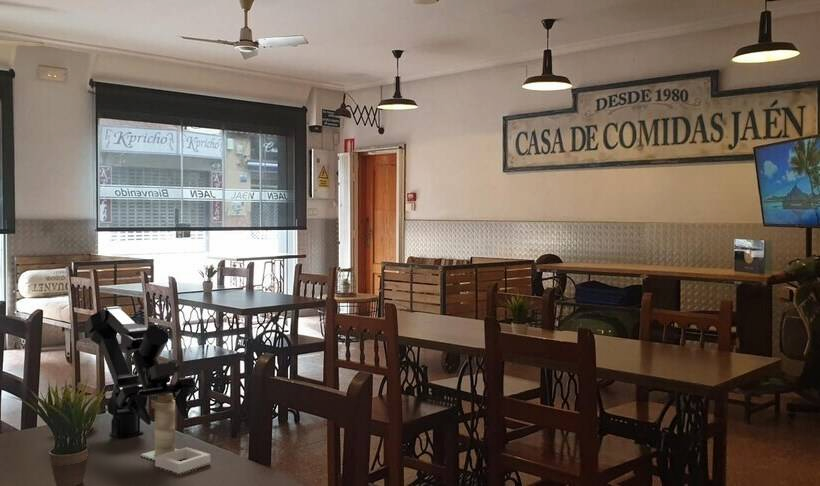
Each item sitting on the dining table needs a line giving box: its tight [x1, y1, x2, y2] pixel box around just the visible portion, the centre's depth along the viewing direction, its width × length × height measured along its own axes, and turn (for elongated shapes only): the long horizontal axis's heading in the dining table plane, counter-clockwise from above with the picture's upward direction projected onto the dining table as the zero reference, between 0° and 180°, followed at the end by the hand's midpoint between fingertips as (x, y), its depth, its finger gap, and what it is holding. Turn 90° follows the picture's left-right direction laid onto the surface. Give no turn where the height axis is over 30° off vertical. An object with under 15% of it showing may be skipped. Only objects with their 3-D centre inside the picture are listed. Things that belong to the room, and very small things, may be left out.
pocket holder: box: [154, 446, 211, 473], centre depth 174 cm, size 9×9×2 cm
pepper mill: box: [154, 393, 176, 456], centre depth 181 cm, size 5×5×15 cm
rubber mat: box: [140, 448, 178, 461], centre depth 181 cm, size 8×8×1 cm
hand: (167, 420), depth 180 cm, fingers open, 9 cm apart
